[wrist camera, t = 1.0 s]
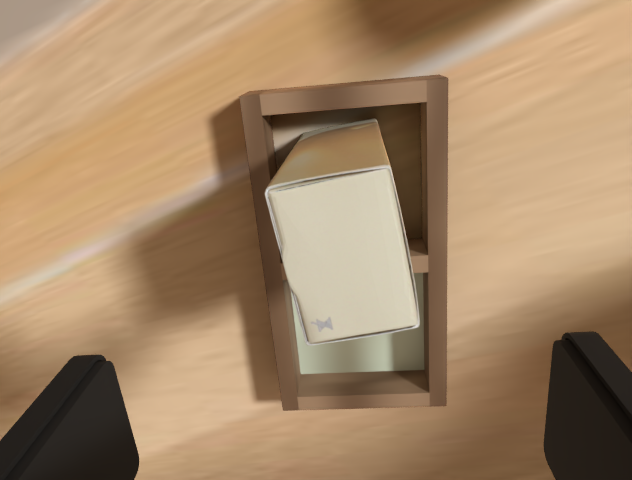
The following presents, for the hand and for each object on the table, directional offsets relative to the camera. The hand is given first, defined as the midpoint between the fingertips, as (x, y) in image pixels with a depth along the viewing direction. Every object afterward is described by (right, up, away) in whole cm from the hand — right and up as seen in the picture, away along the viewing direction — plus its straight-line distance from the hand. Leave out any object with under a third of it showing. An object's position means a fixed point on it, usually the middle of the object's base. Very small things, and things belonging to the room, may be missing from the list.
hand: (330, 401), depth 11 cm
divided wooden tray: (+2, +3, +19) cm, 20 cm away
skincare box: (+2, +7, +18) cm, 19 cm away
